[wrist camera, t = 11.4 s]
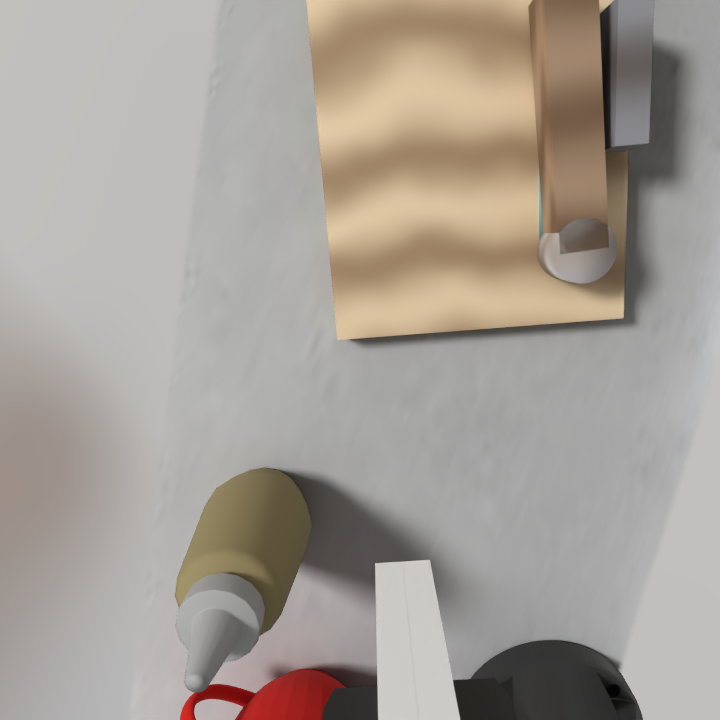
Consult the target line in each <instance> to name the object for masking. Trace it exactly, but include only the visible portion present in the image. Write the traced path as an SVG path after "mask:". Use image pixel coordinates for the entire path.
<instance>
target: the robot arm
mask: <svg viewBox="0 0 720 720" xmlns="http://www.w3.org/2000/svg"><path fill="white" fill-rule="evenodd" d="M375 587H376V637H377V686H368V687H349V688H334V690H333V692H332V693H331V695H330V697H329V699H328V701H327V703H326V704H325V706H324V708H323V714H322V720H643V718H642V715H641V711H640V709H639V706H638V703H637V701H636V699H635V697H634V695H633V694H632V692H631V690H630V688H629V686H628V685H627V683H626V681H625V679H624V678H623V676H622V675H621V673H620V672H619V670H618V669H617V668H616V667H615V666H614V665H613V664H612V663H611V662H610V661H609V660H607V659H606V658H605V657H603V656H602V655H600V654H599V653H597V652H595V651H593V650H591V649H589V648H586V647H584V646H581V645H578V644H574V643H569V642H562V641H538V642H531V643H526V644H522V645H519V646H516V647H513V648H510V649H508V650H506V651H504V652H502V653H500V654H498V655H496V656H495V657H493V658H492V659H490V660H489V661H488V662H486V663H485V664H484V665H483V666H482V667H481V668H480V669H479V670H478V671H477V672H476V673H475V674H474V675H473V676H472V678H471V679H467V680H453V679H452V674H451V668H450V663H449V658H448V653H447V647H446V642H445V637H444V631H443V626H442V621H441V616H440V610H439V605H438V600H437V595H436V589H435V584H434V579H433V574H432V568H431V563H430V560H420V561H403V562H387V563H375Z"/></svg>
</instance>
